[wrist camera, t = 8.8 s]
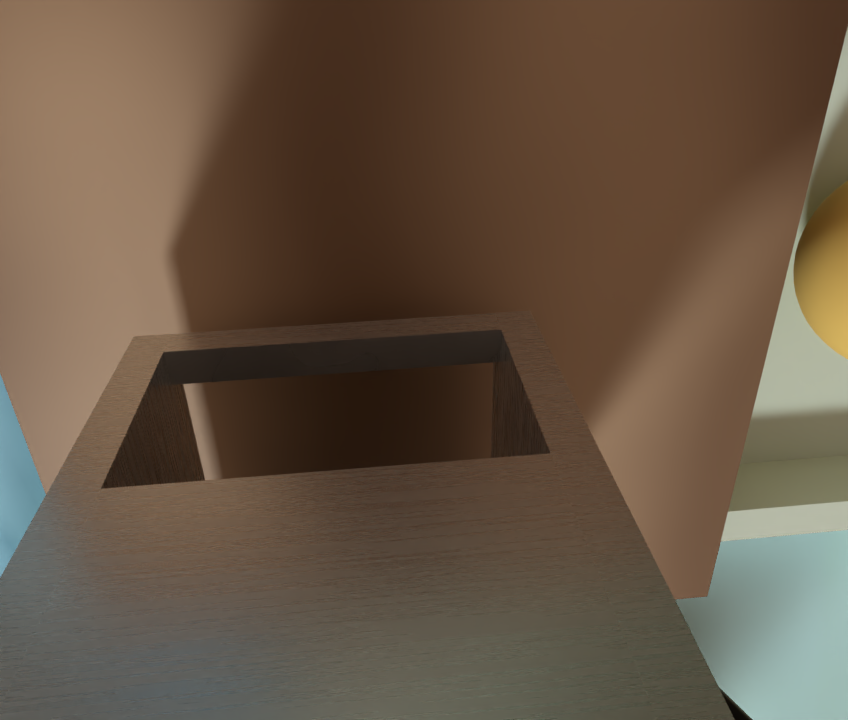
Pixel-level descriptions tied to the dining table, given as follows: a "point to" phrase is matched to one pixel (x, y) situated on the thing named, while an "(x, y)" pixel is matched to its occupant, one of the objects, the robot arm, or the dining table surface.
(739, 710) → the robot arm
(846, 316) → the ball
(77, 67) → the brown flat board
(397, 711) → the gray slotted box
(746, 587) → the dining table surface
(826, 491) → the tray
